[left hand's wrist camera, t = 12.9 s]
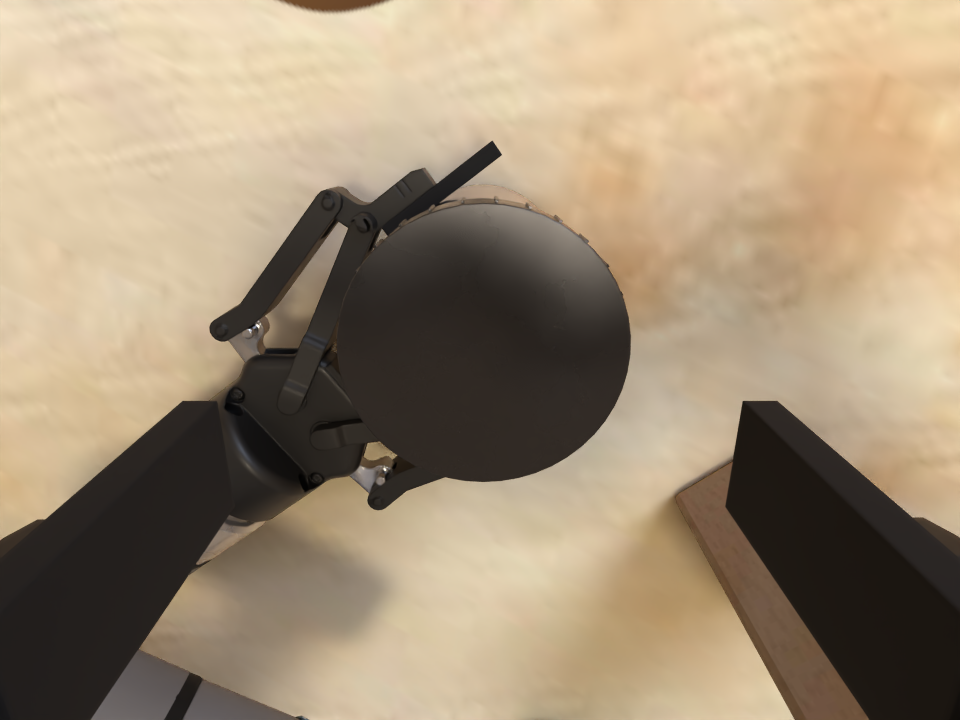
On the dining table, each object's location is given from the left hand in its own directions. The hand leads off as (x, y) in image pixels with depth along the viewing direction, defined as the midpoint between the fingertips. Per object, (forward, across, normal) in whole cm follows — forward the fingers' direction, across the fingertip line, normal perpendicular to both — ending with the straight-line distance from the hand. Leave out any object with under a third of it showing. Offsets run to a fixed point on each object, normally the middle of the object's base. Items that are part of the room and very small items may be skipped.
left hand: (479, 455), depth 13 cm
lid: (+8, 0, 0) cm, 8 cm away
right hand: (+18, -4, -2) cm, 18 cm away
